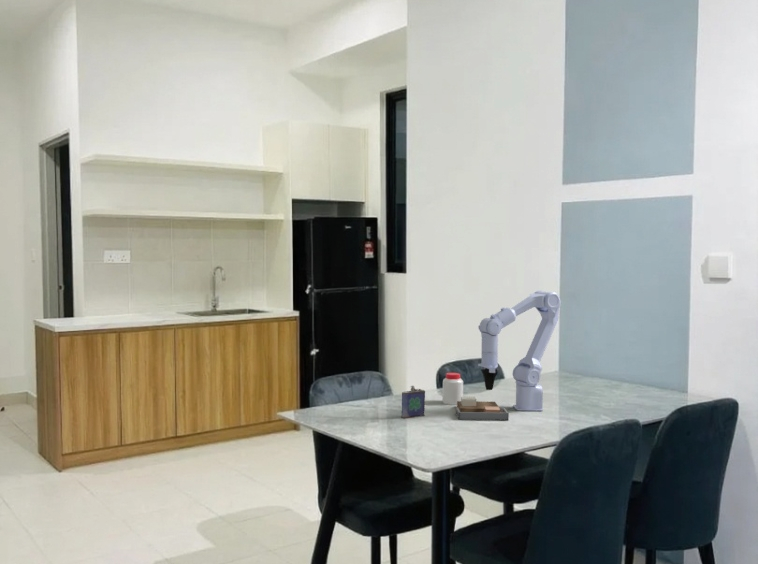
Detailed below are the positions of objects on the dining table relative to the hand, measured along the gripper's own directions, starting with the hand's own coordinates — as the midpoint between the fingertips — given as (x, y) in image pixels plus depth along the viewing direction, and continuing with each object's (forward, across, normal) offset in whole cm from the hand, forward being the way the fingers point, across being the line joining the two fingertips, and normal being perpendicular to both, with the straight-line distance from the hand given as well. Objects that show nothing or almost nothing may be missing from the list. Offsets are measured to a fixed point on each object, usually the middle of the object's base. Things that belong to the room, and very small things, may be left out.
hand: (489, 389), depth 259 cm
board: (+8, -2, -4) cm, 9 cm away
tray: (+8, +9, -4) cm, 12 cm away
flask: (+8, +9, -28) cm, 30 cm away
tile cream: (+6, -2, -7) cm, 9 cm away
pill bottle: (+8, -15, -12) cm, 21 cm away
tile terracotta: (+8, +7, 0) cm, 10 cm away
